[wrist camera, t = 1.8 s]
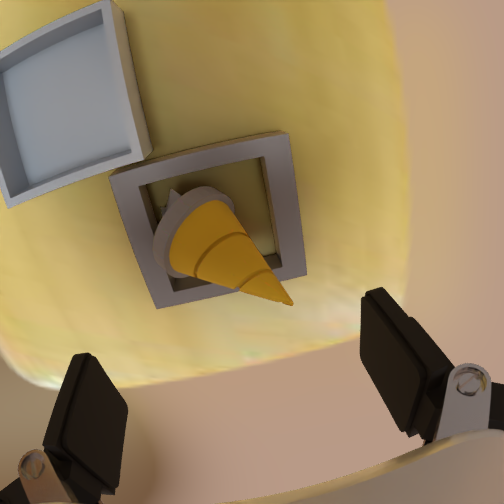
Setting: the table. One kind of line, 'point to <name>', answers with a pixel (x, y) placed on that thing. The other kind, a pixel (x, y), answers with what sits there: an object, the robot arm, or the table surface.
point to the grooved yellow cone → (212, 245)
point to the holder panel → (138, 175)
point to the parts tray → (69, 104)
